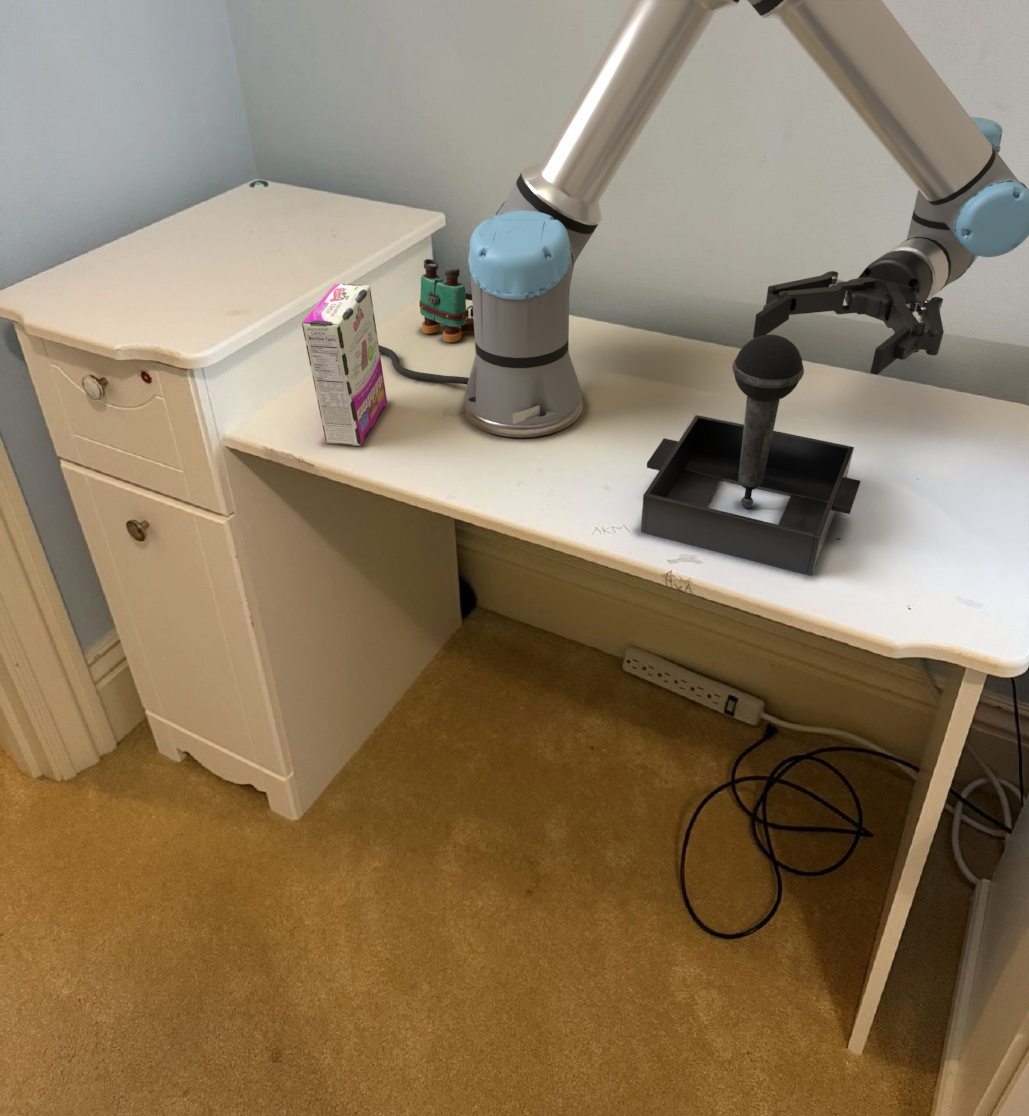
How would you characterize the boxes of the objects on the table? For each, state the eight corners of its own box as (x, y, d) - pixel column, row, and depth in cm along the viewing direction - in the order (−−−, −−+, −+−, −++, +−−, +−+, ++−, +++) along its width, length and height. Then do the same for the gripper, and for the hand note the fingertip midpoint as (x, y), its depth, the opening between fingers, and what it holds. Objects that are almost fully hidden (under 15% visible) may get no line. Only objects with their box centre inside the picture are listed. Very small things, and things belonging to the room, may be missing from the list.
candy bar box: (352, 401, 122) (333, 282, 112) (388, 404, 121) (372, 284, 111) (322, 445, 113) (299, 320, 103) (360, 448, 112) (340, 322, 102)
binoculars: (500, 261, 133) (450, 275, 127) (497, 331, 139) (450, 347, 133) (457, 247, 138) (407, 260, 132) (456, 315, 144) (409, 330, 138)
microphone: (737, 532, 97) (764, 359, 85) (702, 498, 102) (722, 331, 90) (791, 515, 99) (824, 344, 87) (754, 483, 104) (780, 317, 92)
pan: (624, 527, 98) (626, 490, 95) (677, 446, 111) (681, 411, 108) (830, 580, 90) (839, 542, 87) (862, 486, 103) (871, 450, 100)
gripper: (1000, 338, 104) (922, 411, 92) (800, 286, 117) (709, 344, 105) (1020, 274, 99) (941, 342, 87) (810, 228, 113) (716, 281, 101)
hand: (814, 343), depth 96 cm, fingers open, 13 cm apart
